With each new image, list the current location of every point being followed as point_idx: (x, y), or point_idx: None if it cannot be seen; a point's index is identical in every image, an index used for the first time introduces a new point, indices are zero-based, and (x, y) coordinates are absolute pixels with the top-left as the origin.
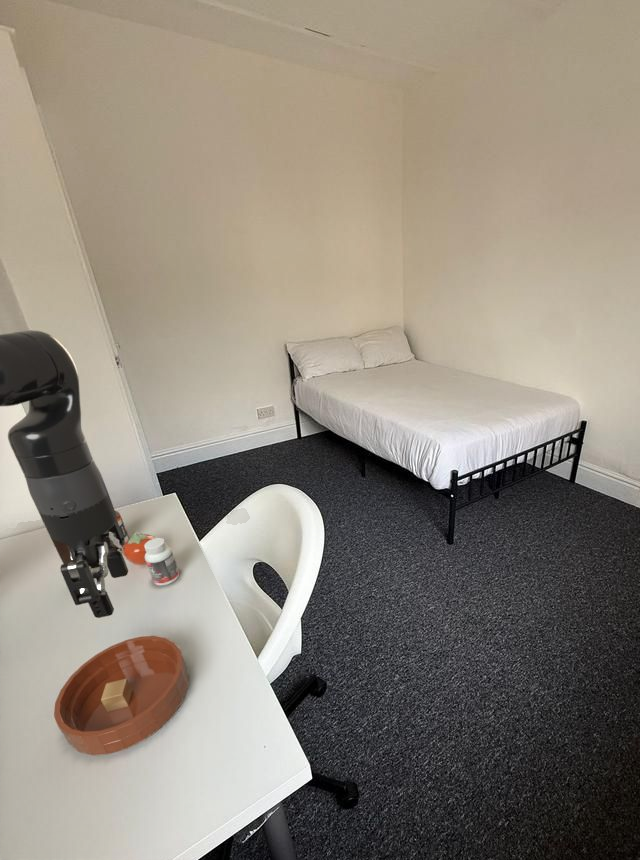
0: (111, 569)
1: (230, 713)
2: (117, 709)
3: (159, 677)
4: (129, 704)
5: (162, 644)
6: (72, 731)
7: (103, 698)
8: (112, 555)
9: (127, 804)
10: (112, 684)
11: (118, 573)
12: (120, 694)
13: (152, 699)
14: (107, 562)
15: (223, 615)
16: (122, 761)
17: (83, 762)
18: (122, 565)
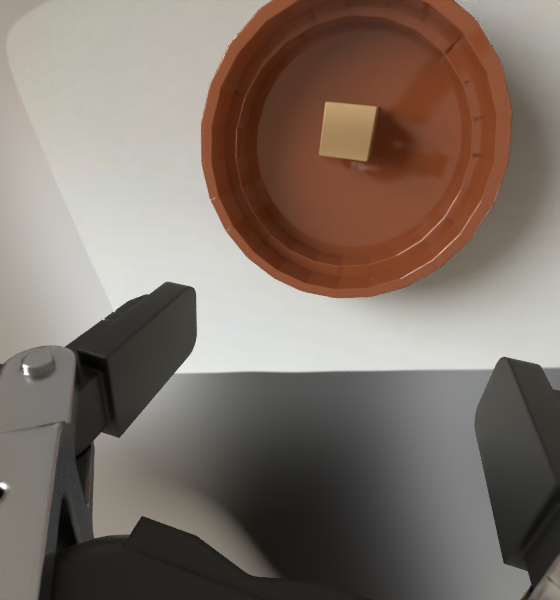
0: (513, 408)
1: (240, 320)
2: None
3: (377, 215)
4: None
5: (434, 251)
6: (228, 58)
7: (326, 108)
8: (544, 547)
9: (144, 163)
10: (364, 125)
11: (491, 402)
12: (320, 150)
13: (321, 201)
14: (540, 456)
15: None
16: None
17: None
18: (492, 474)
